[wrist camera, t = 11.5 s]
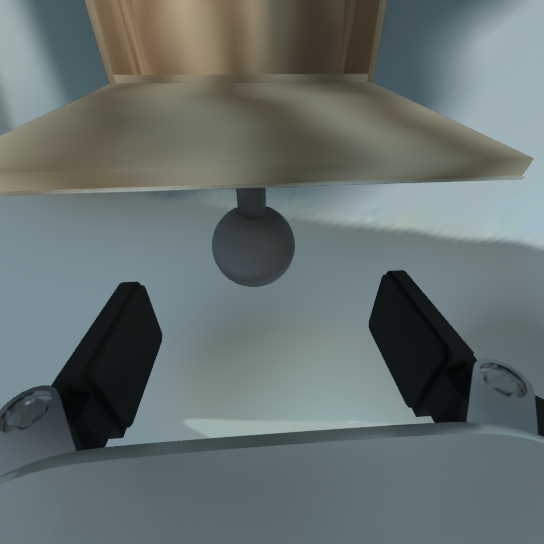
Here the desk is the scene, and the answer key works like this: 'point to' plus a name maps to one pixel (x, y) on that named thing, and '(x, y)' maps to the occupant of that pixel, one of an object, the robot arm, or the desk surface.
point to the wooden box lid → (245, 152)
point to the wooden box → (237, 40)
